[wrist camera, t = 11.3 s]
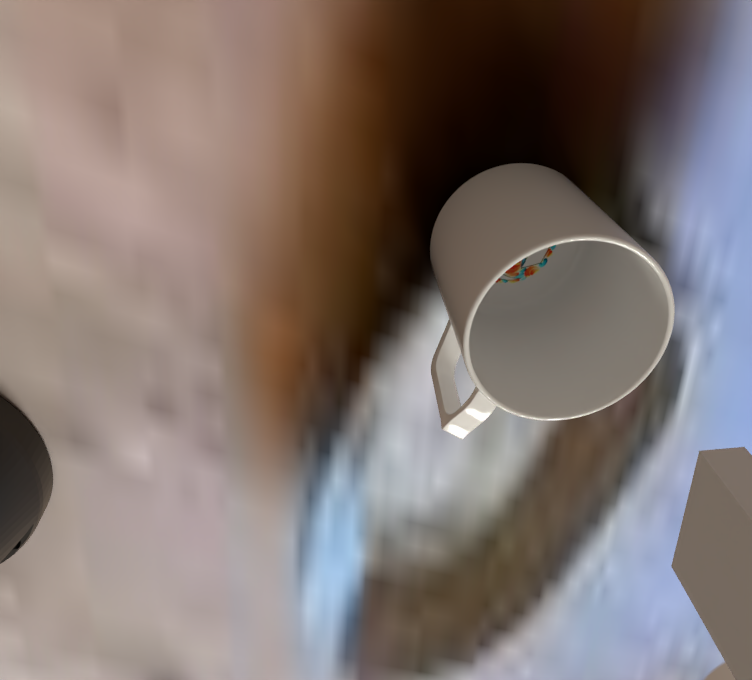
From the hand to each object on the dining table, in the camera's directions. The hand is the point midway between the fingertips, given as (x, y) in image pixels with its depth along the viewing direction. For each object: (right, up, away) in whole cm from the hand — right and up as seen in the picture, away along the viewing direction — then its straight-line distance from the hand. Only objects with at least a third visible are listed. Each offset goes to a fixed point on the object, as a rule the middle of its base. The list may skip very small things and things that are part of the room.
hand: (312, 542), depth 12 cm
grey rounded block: (+7, +8, +27) cm, 29 cm away
